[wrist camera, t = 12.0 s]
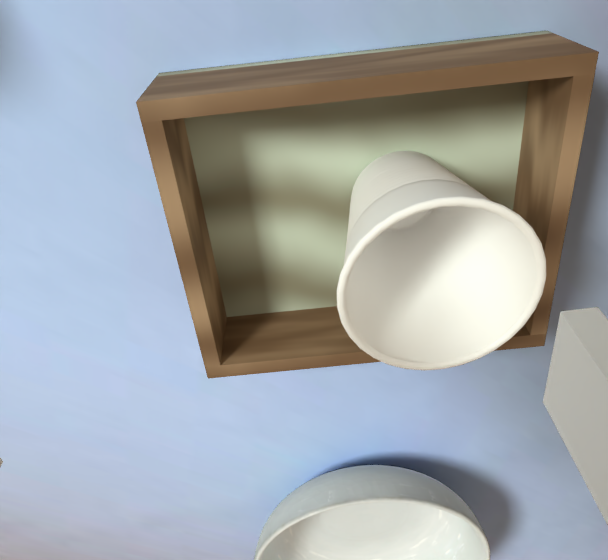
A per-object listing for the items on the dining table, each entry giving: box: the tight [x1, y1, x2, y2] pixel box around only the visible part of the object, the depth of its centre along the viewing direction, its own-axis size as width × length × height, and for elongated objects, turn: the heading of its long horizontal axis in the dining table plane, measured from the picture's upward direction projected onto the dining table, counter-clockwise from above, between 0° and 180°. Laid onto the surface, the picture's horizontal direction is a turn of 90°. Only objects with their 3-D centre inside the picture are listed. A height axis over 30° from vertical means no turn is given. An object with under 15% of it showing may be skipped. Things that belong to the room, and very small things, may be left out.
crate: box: [136, 31, 599, 378], centre depth 34 cm, size 18×22×6 cm
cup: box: [337, 151, 546, 370], centre depth 31 cm, size 10×10×11 cm
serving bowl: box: [254, 465, 490, 560], centre depth 51 cm, size 21×21×7 cm
